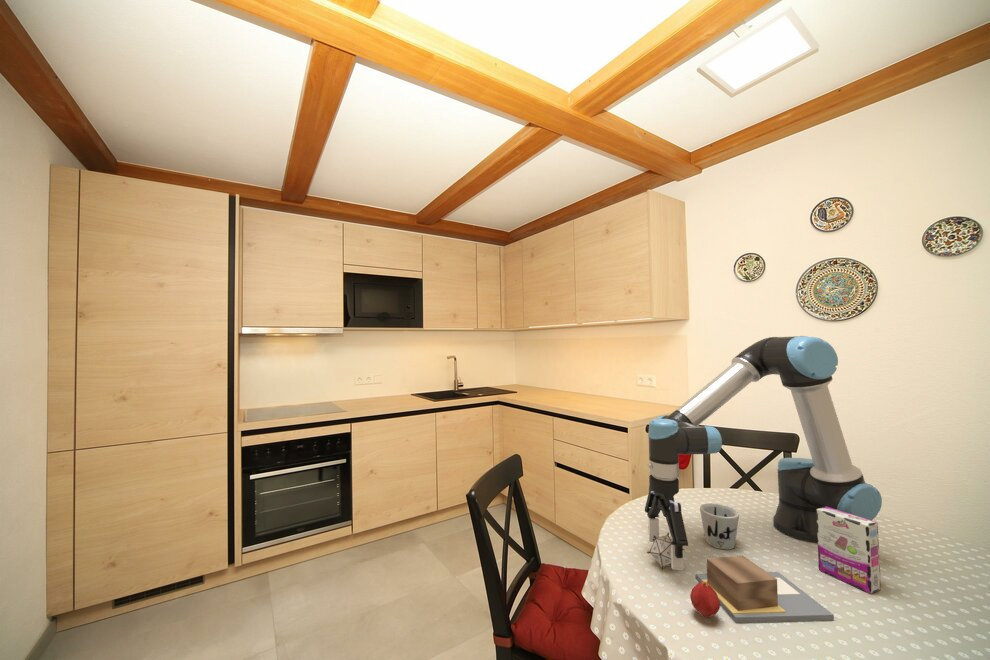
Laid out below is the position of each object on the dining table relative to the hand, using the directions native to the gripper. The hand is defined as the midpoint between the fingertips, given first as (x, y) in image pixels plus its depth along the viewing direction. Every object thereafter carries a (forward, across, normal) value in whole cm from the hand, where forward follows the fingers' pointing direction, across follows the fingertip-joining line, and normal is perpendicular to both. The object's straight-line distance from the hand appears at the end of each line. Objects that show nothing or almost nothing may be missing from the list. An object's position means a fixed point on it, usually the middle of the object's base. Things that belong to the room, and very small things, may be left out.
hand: (664, 554), depth 106 cm
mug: (+3, -13, +23) cm, 27 cm away
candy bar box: (+3, +8, +44) cm, 45 cm away
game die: (+3, 0, 0) cm, 3 cm away
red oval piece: (+3, +20, 0) cm, 20 cm away
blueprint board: (+3, +14, +16) cm, 22 cm away
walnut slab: (+1, +15, +11) cm, 19 cm away
